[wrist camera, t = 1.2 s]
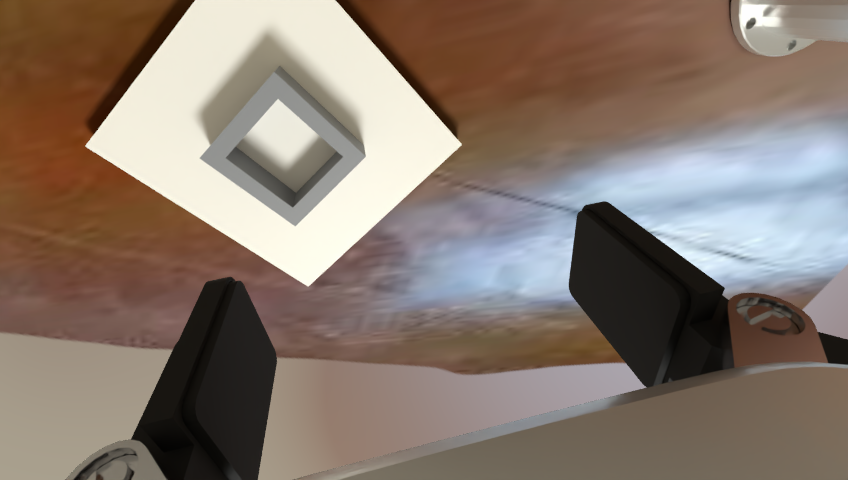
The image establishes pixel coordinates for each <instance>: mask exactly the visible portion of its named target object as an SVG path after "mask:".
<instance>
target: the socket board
mask: <svg viewBox="0 0 848 480" xmlns="http://www.w3.org/2000/svg"><path fill="white" fill-rule="evenodd" d="M461 145H462V144H461V143H460V142H459V141H458V140H457V138H456V137H455V136H454V135H453V134H452V133H451V132H450V130H449V129H448V128H447V127H446V126H445V125H444V124H443V122H442V121H441V120H440V119H439V118H438V117H437V116H436V114H435V113H434V112H433V111H432V110H431V109H430V108H429V106H428V105H427V104H426V103H425V102H424V101H423V100H422V98H421V97H420V96H419V95H418V94H417V93H416V92H415V90H414V89H413V88H412V87H411V86H410V85H409V84H408V82H407V81H406V80H405V79H404V78H403V77H402V76H401V74H400V73H399V72H398V71H397V70H396V69H395V68H394V66H393V65H392V64H391V63H390V62H389V61H388V60H387V58H386V57H385V56H384V55H383V54H382V53H381V52H380V50H379V49H378V48H377V47H376V46H375V45H374V44H373V42H372V41H371V40H370V39H369V38H368V37H367V36H366V34H365V33H364V32H363V31H362V30H361V29H360V28H359V26H358V25H357V24H356V23H355V22H354V21H353V20H352V18H351V17H350V16H349V15H348V14H347V13H346V12H345V10H344V9H343V8H342V7H341V6H340V5H339V4H338V2H337V1H336V0H195V1H194V3H193V4H192V5H191V6H190V8H189V9H188V10H187V12H186V13H185V14H184V16H183V17H182V18H181V20H180V21H179V22H178V24H177V25H176V26H175V28H174V29H173V30H172V32H171V33H170V34H169V36H168V37H167V38H166V40H165V41H164V42H163V44H162V45H161V46H160V48H159V49H158V50H157V52H156V53H155V54H154V56H153V57H152V58H151V60H150V61H149V62H148V64H147V65H146V66H145V68H144V69H143V70H142V71H141V73H140V74H139V75H138V77H137V78H136V79H135V81H134V82H133V83H132V85H131V86H130V87H129V89H128V90H127V91H126V93H125V94H124V95H123V97H122V98H121V99H120V101H119V102H118V103H117V105H116V106H115V107H114V109H113V110H112V111H111V113H110V114H109V115H108V117H107V118H106V119H105V121H104V122H103V123H102V125H101V126H100V127H99V129H98V130H97V131H96V133H95V134H94V135H93V136H92V138H91V139H90V140H89V142H88V143H87V144H86V146H85V147H87V148H89V149H90V150H92V151H93V152H95V153H97V154H98V155H100V156H101V157H103V158H105V159H106V160H108V161H109V162H111V163H113V164H114V165H116V166H117V167H119V168H120V169H122V170H124V171H125V172H127V173H128V174H130V175H132V176H133V177H135V178H136V179H138V180H140V181H141V182H143V183H144V184H146V185H148V186H149V187H151V188H152V189H154V190H155V191H157V192H159V193H160V194H162V195H163V196H165V197H167V198H168V199H170V200H171V201H173V202H175V203H176V204H178V205H179V206H181V207H183V208H184V209H186V210H187V211H189V212H190V213H192V214H194V215H195V216H197V217H198V218H200V219H202V220H203V221H205V222H206V223H208V224H210V225H211V226H213V227H214V228H216V229H217V230H219V231H221V232H222V233H224V234H225V235H227V236H229V237H230V238H232V239H233V240H235V241H237V242H238V243H240V244H241V245H243V246H245V247H246V248H248V249H249V250H251V251H252V252H254V253H256V254H257V255H259V256H260V257H262V258H264V259H265V260H267V261H268V262H270V263H272V264H273V265H275V266H276V267H278V268H280V269H281V270H283V271H284V272H286V273H287V274H289V275H291V276H292V277H294V278H295V279H297V280H299V281H300V282H302V283H303V284H305V285H307V286H309V285H310V284H311V283H313V282H314V281H315V280H316V279H317V278H318V277H319V276H320V275H321V274H322V273H323V272H324V271H326V270H327V269H328V268H329V267H330V266H331V265H332V264H333V263H334V262H335V261H336V260H337V259H339V258H340V257H341V256H342V255H343V254H344V253H345V252H346V251H347V250H348V249H349V248H350V247H352V246H353V245H354V244H355V243H356V242H357V241H358V240H359V239H360V238H361V237H362V236H363V235H365V234H366V233H367V232H368V231H369V230H370V229H371V228H372V227H373V226H374V225H375V224H376V223H378V222H379V221H380V220H381V219H382V218H383V217H384V216H385V215H386V214H387V213H388V212H389V211H391V210H392V209H393V208H394V207H395V206H396V205H397V204H398V203H399V202H400V201H401V200H402V199H404V198H405V197H406V196H407V195H408V194H409V193H410V192H411V191H412V190H413V189H414V188H415V187H417V186H418V185H419V184H420V183H421V182H422V181H423V180H424V179H425V178H426V177H427V176H428V175H430V174H431V173H432V172H433V171H434V170H435V169H436V168H437V167H438V166H439V165H440V164H441V163H443V162H444V161H445V160H446V159H447V158H448V157H449V156H450V155H451V154H452V153H453V152H455V151H456V150H457V149H458V148H459V147H460V146H461Z"/></svg>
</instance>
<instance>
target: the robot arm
mask: <svg viewBox="0 0 848 480" xmlns="http://www.w3.org/2000/svg"><path fill="white" fill-rule="evenodd" d="M731 22H732V27H733V31H734V34H735V36H736V38H737V40H738V41H739V43H740V44H741V45H742V46H743V47H744V48H745V49H746V50H748V51H750V52H752V53H754V54H758V55H764V56H783V55H788V54H791V53H794V52H796V51H799V50H801V49H803V48H805V47H807V46H808V45H810V44H812V43H813V42H815V41H817V40H827V41H839V42H848V0H731ZM724 289H725V288H724V287H723V286H721V285H720V284H719V283H717V282H716V281H714V280H713V279H712V278H710V277H709V276H708V275H706V274H705V273H704V272H702V271H701V270H699V269H698V268H697V267H695V266H694V265H693V264H691V263H690V262H689V261H687V260H686V259H685V258H683V257H682V256H680V255H679V254H678V253H676V252H675V251H674V250H672V249H671V248H670V247H668V246H667V245H665V244H664V243H663V242H661V241H660V240H659V239H657V238H656V237H655V236H653V235H652V234H651V233H649V232H648V231H646V230H645V229H644V228H642V227H641V226H640V225H638V224H637V223H636V222H634V221H633V220H631V219H630V218H629V217H627V216H626V215H625V214H623V213H622V212H621V211H619V210H618V209H616V208H615V207H614V206H612V205H611V204H610V203H608V202H599V203H594V204H589V205H586V206H584V207H583V209H582V211H580V212H579V213H578V215H577V221H576V229H575V237H574V245H573V254H572V262H571V270H570V278H569V290H570V293H571V295H572V296H573V298H574V299H575V300H576V302H577V303H578V304H579V305H580V306H581V308H582V309H583V310H584V311H585V313H586V314H587V315H588V316H589V318H590V319H591V320H592V321H593V323H594V324H595V325H596V326H597V328H598V329H599V330H600V331H601V333H602V334H603V335H604V336H605V338H606V339H607V340H608V341H609V343H610V344H611V345H612V346H613V348H614V349H615V350H616V351H617V352H618V354H619V355H620V356H621V357H622V359H623V360H624V361H625V362H626V364H627V365H628V366H629V367H630V369H631V370H632V371H633V372H634V374H635V375H636V376H637V377H638V379H639V380H640V381H641V382H642V383H643V385H644V386H646V387H647V388H644V389H640V390H636V391H632V392H628V393H624V394H620V395H616V396H612V397H608V398H604V399H600V400H596V401H592V402H588V403H584V404H580V405H576V406H572V407H568V408H565V409H561V410H556V411H553V412H549V413H545V414H541V415H537V416H533V417H529V418H525V419H521V420H518V421H514V422H510V423H506V424H502V425H498V426H494V427H491V428H487V429H483V430H479V431H475V432H471V433H467V434H463V435H460V436H456V437H452V438H448V439H444V440H440V441H437V442H432V443H429V444H425V445H421V446H417V447H413V448H410V449H406V450H402V451H398V452H395V453H391V454H387V455H383V456H380V457H376V458H372V459H368V460H364V461H360V462H357V463H353V464H349V465H345V466H341V467H338V468H334V469H330V470H327V471H323V472H319V473H315V474H311V475H308V476H304V477H301V478H297V479H294V480H848V340H847V339H843V338H840V337H836V336H832V335H828V334H824V333H820V332H817V329H816V326H815V324H814V323H813V321H812V319H811V318H810V317H809V316H808V315H807V314H806V313H805V312H804V311H803V310H801V309H800V308H798V307H796V306H795V305H793V304H791V303H789V302H787V301H784V300H782V299H780V298H777V297H773V296H769V295H766V294H759V293H741V294H738V295H735V296H733V297H732V298H731V299H730V300H728V299H726V298H725V297H724V296H723V295H722V294H723V291H724ZM276 364H277V357H276V352H275V349H274V347H273V345H272V343H271V341H270V339H269V337H268V335H267V332H266V330H265V328H264V326H263V324H262V322H261V320H260V318H259V316H258V314H257V312H256V309H255V307H254V305H253V303H252V301H251V299H250V297H249V295H248V293H247V291H246V288H245V286H244V284H243V283H242V282H241V281H235V280H234V279H233V278H232V277H227V278H222V279H217V280H212V281H208V282H206V284H205V285H204V287H203V289H202V292H201V294H200V296H199V298H198V300H197V302H196V304H195V307H194V309H193V311H192V313H191V315H190V317H189V320H188V322H187V324H186V326H185V328H184V330H183V332H182V335H181V337H180V339H179V341H178V342H177V344H176V345H175V347H174V349H173V351H172V353H171V355H170V357H169V359H168V362H167V364H166V366H165V368H164V370H163V372H162V374H161V377H160V379H159V381H158V383H157V385H156V387H155V390H154V391H153V394H152V396H151V398H150V400H149V402H148V404H147V407H146V409H145V411H144V413H143V415H142V417H141V419H140V421H139V424H138V426H137V428H136V430H135V432H134V435H133V436H132V439H131V440H124V441H118V442H115V443H113V444H111V445H108V446H106V447H104V448H102V449H100V450H99V451H97V452H96V453H94V454H92V455H91V456H89V457H88V458H87V459H86V460H85V461H83V462H82V463H81V464H80V465H79V466H77V467H76V468H75V470H74V471H73V472H72V473H71V474H70V475H69V476H68V477H67V478H66V479H65V480H258V474H259V467H260V462H261V456H262V450H263V443H264V437H265V431H266V425H267V419H268V413H269V407H270V401H271V394H272V389H273V382H274V376H275V370H276Z"/></svg>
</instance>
